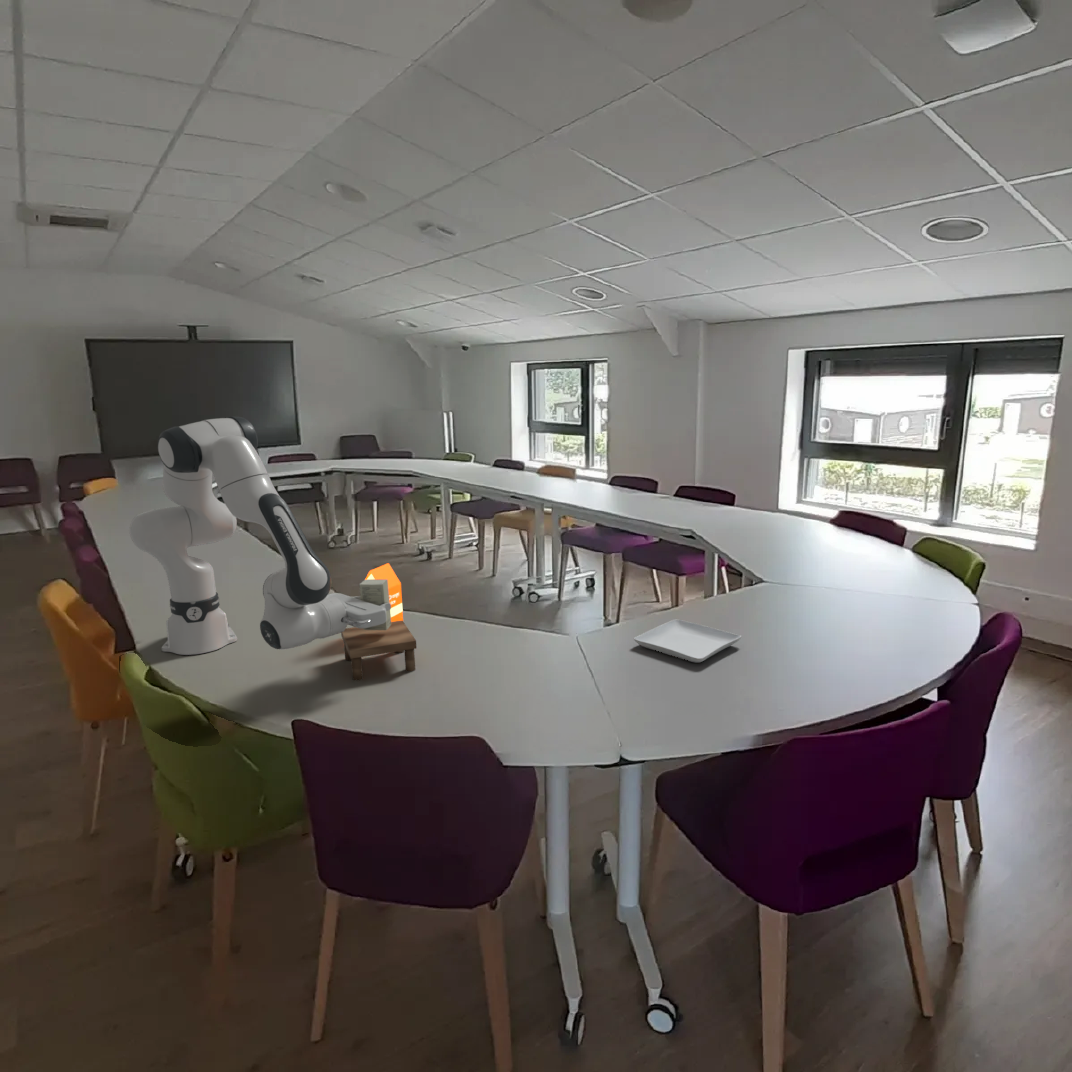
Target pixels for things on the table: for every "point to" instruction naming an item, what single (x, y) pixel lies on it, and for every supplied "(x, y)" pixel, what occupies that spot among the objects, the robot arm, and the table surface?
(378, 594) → the skincare box
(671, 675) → the table surface
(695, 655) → the salad plate
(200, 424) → the robot arm
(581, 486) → the table surface
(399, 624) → the walnut stool
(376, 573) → the orange juice
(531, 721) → the table surface
